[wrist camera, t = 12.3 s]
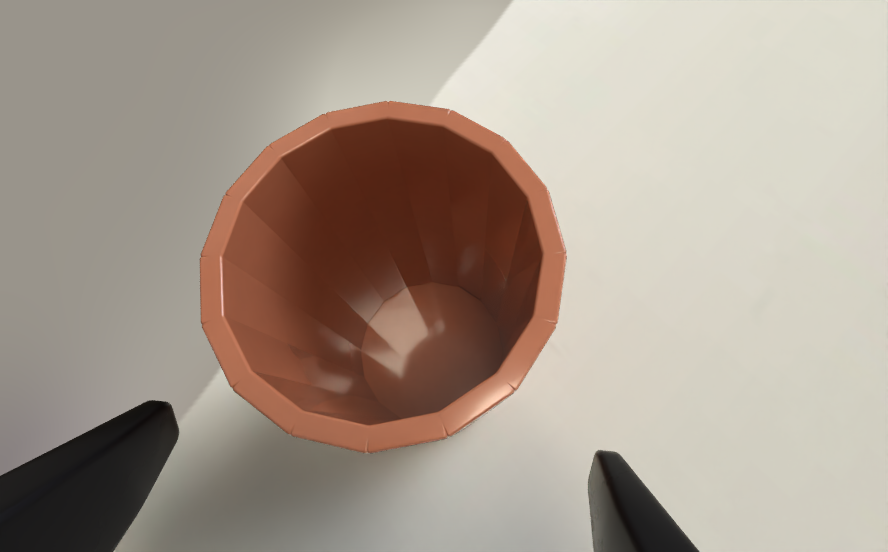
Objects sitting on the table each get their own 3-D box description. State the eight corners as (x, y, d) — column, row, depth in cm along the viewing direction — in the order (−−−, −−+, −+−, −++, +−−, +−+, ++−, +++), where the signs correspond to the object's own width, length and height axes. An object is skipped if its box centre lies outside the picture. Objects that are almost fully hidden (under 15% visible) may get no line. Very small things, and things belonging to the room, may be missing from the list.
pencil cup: (495, 450, 19) (533, 493, 7) (338, 415, 20) (141, 401, 8) (521, 294, 21) (585, 127, 9) (377, 267, 22) (266, 82, 10)
